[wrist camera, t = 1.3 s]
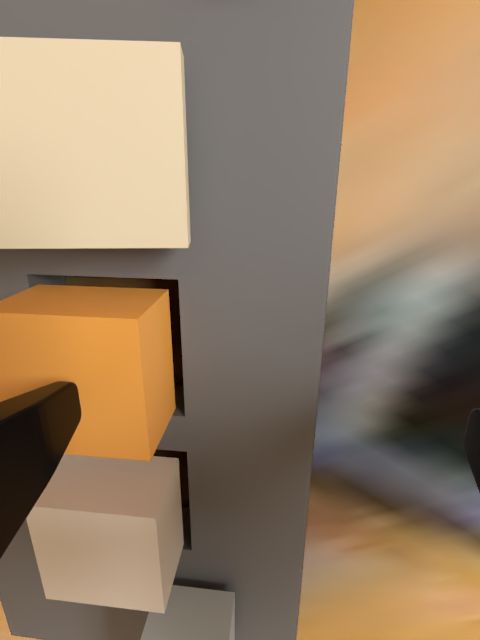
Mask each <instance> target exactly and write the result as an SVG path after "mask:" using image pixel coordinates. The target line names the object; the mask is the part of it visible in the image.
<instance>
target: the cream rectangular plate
mask: <svg viewBox="0 0 480 640" xmlns="http://www.w3.org/2000/svg"><path fill="white" fill-rule="evenodd" d="M190 242H191V236H190V209H189V182H188V155H187V129H186V102H185V75H184V56H183V52H182V48H181V44H180V42H160V41H127V40H93V39H60V38H26V37H0V249H73V248H188V247H189V245H190Z"/></svg>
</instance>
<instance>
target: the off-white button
mask: <svg viewBox="0 0 480 640" xmlns="http://www.w3.org/2000/svg"><path fill="white" fill-rule="evenodd" d="M26 520H27V524H28V528H29V532H30V536H31V540H32V544H33V548H34V552H35V556H36V560H37V564H38V568H39V572H40V576H41V580H42V584H43V588H44V593H45V597H46V599H52V600H60V601H68V602H76V603H84V604H92V605H100V606H108V607H116V608H124V609H132V610H140V611H148V612H156V613H164V614H165V610H166V606H167V603H168V599H169V596H170V592H171V588H172V585H173V581H174V577H175V574H176V570H177V567H178V563H179V559H180V556H181V552H182V549H183V545H184V538H183V522H182V505H181V488H180V472H179V458H170V457H158V456H153V457H152V459H151V461H140V460H128V459H117V458H105V457H93V456H81V455H69V454H64V455H63V457H62V459H61V461H60V463H59V465H58V467H57V469H56V471H55V472H54V474H53V476H52V478H51V480H50V481H49V483H48V485H47V486H46V488H45V489H44V491H43V493H42V494H41V496H40V497H39V499H38V501H37V502H36V504H35V505H34V507H33V508H32V510H31V512H30V513H29V515H28V516H27V518H26Z"/></svg>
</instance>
